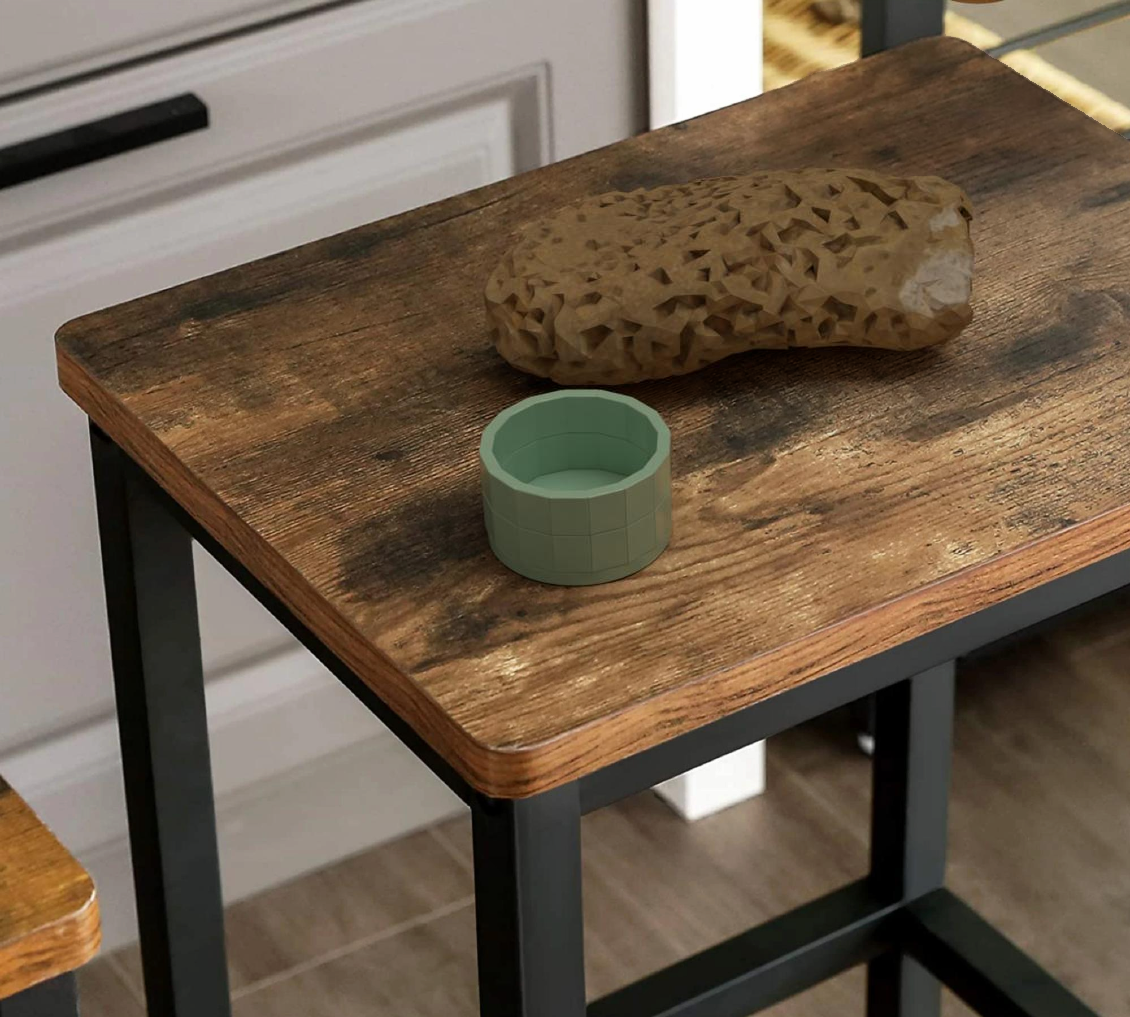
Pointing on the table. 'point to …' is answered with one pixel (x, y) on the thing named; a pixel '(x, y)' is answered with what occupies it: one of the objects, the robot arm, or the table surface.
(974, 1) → the tall orange cylinder
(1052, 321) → the table surface
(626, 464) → the green ceramic dish
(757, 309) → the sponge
